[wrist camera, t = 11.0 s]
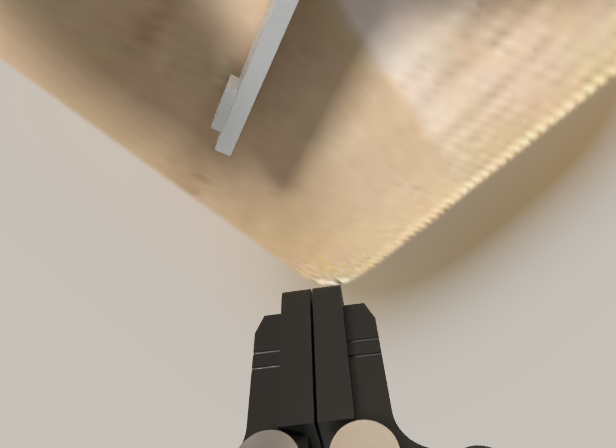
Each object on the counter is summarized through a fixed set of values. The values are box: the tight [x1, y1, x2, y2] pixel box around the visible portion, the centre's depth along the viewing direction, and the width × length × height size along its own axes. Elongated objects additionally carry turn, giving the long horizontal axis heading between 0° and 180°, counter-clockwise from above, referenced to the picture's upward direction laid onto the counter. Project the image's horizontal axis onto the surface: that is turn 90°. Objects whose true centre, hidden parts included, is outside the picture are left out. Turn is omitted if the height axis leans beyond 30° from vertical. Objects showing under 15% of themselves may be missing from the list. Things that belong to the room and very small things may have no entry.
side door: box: [211, 0, 299, 156], centre depth 21 cm, size 12×2×5 cm, turn 154°
